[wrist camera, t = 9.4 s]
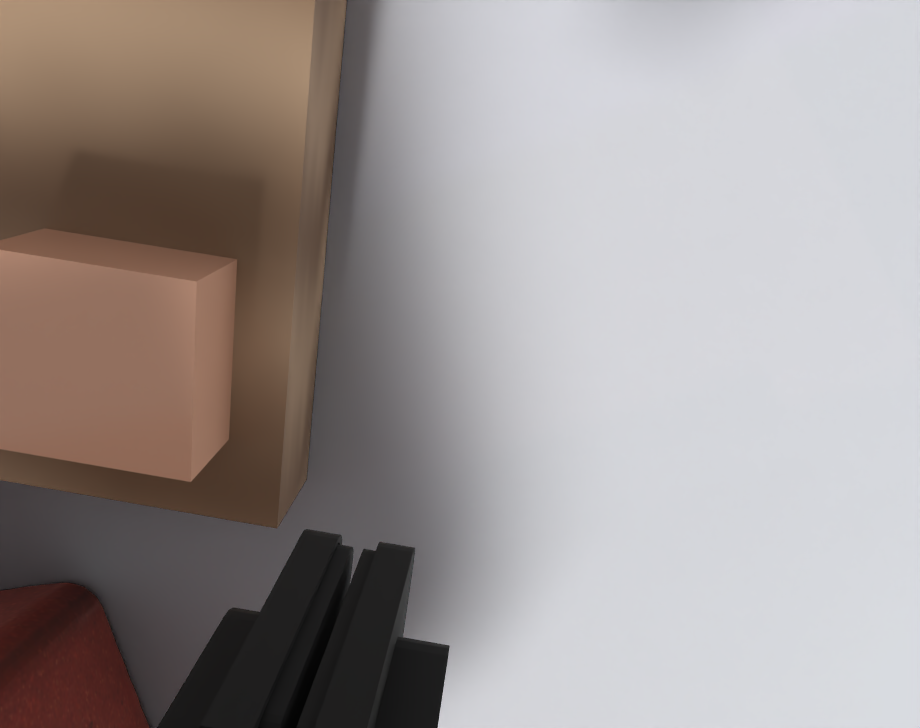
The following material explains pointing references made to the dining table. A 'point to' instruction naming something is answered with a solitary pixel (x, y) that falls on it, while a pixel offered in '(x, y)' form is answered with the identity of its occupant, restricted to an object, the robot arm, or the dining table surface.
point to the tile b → (115, 352)
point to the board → (187, 198)
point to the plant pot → (62, 662)
